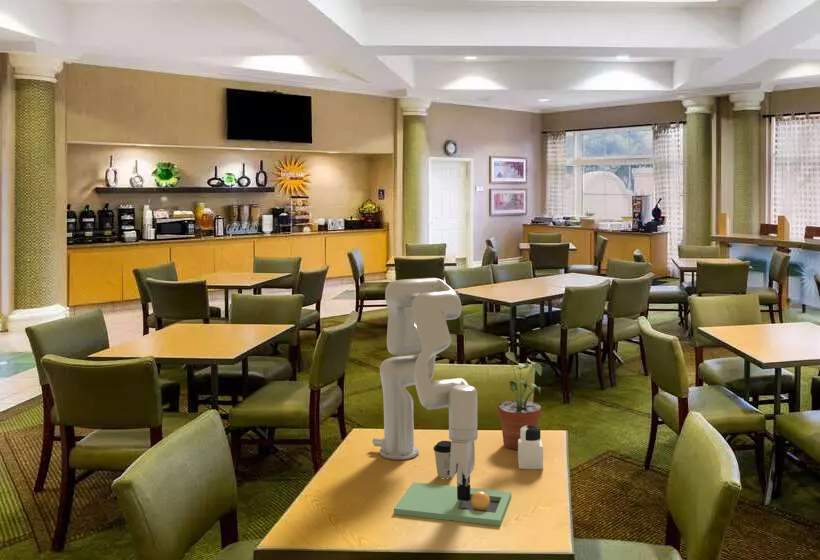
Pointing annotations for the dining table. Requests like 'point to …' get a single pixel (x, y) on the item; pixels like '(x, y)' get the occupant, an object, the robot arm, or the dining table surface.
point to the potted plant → (518, 408)
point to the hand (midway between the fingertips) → (463, 499)
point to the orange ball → (480, 501)
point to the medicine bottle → (530, 448)
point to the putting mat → (451, 504)
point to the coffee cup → (443, 458)
